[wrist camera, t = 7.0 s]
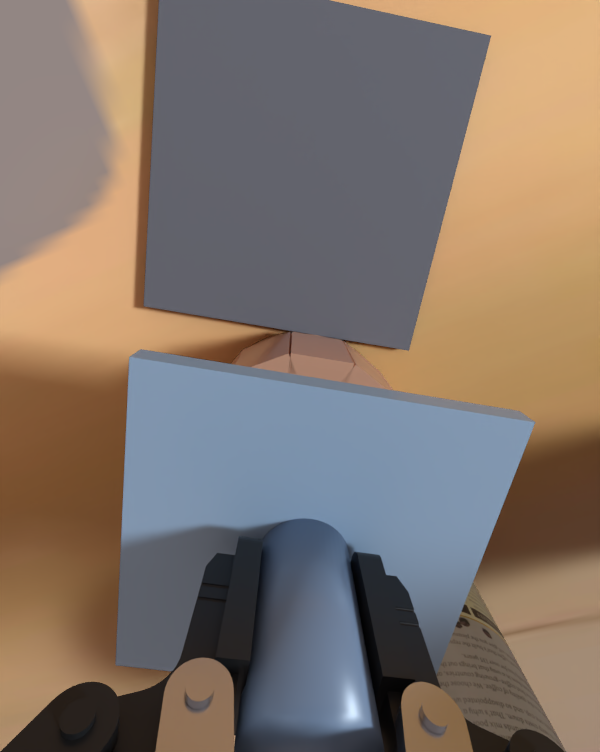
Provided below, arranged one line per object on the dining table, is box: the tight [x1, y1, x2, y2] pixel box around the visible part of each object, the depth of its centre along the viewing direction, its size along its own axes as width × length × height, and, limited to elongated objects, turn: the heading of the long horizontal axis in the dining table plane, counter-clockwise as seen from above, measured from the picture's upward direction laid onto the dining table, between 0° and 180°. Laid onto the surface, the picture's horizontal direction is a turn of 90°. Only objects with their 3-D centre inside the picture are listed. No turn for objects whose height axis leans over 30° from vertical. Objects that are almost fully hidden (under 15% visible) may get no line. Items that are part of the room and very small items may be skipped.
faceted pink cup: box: [231, 332, 394, 391], centre depth 20 cm, size 10×10×6 cm
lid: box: [116, 349, 535, 752], centre depth 10 cm, size 11×11×6 cm
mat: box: [144, 0, 491, 350], centre depth 19 cm, size 14×14×1 cm
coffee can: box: [436, 583, 566, 752], centre depth 20 cm, size 10×10×14 cm
